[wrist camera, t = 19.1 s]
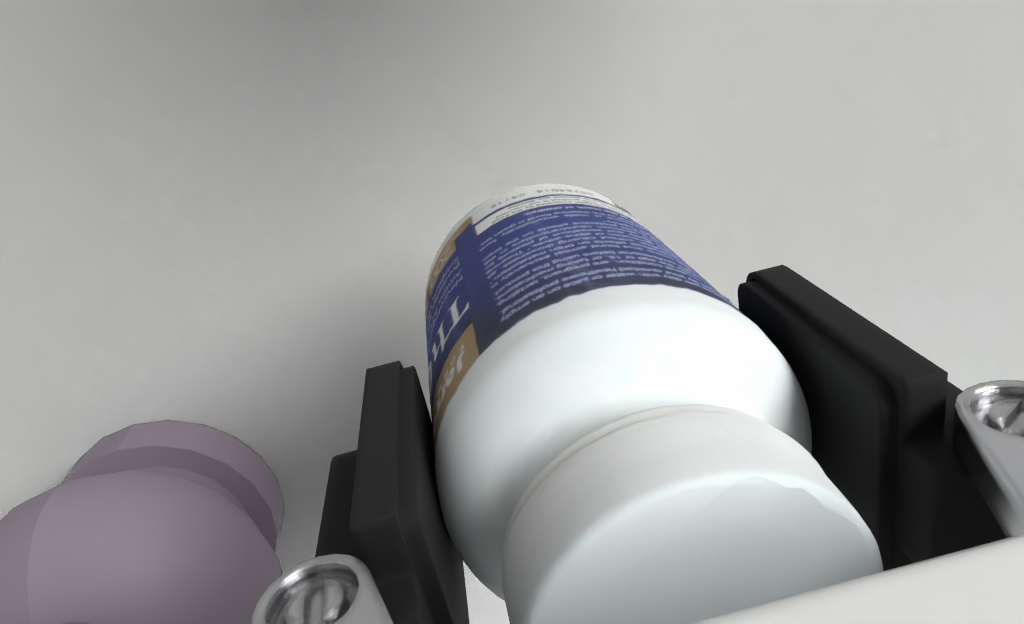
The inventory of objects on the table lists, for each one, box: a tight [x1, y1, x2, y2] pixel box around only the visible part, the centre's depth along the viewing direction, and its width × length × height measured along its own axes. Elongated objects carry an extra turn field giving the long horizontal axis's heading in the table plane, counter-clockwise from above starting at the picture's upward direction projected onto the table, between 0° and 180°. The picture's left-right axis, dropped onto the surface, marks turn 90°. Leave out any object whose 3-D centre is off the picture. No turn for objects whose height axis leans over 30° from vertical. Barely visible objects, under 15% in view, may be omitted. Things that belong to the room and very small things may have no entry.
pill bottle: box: [425, 184, 884, 624], centre depth 12 cm, size 5×5×10 cm
